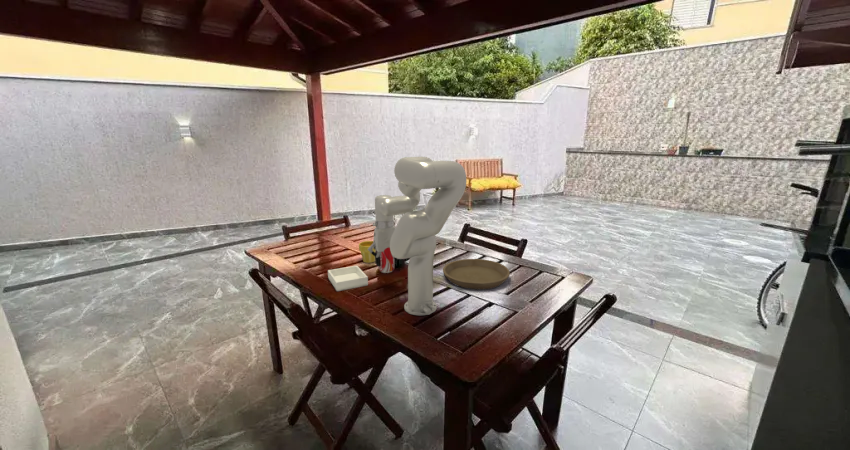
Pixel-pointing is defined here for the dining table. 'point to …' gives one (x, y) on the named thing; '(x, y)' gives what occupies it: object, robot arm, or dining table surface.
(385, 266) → the soda can
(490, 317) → the dining table surface
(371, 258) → the plant pot
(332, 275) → the tray
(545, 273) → the dining table surface
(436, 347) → the dining table surface
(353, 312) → the dining table surface
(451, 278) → the plant saucer
